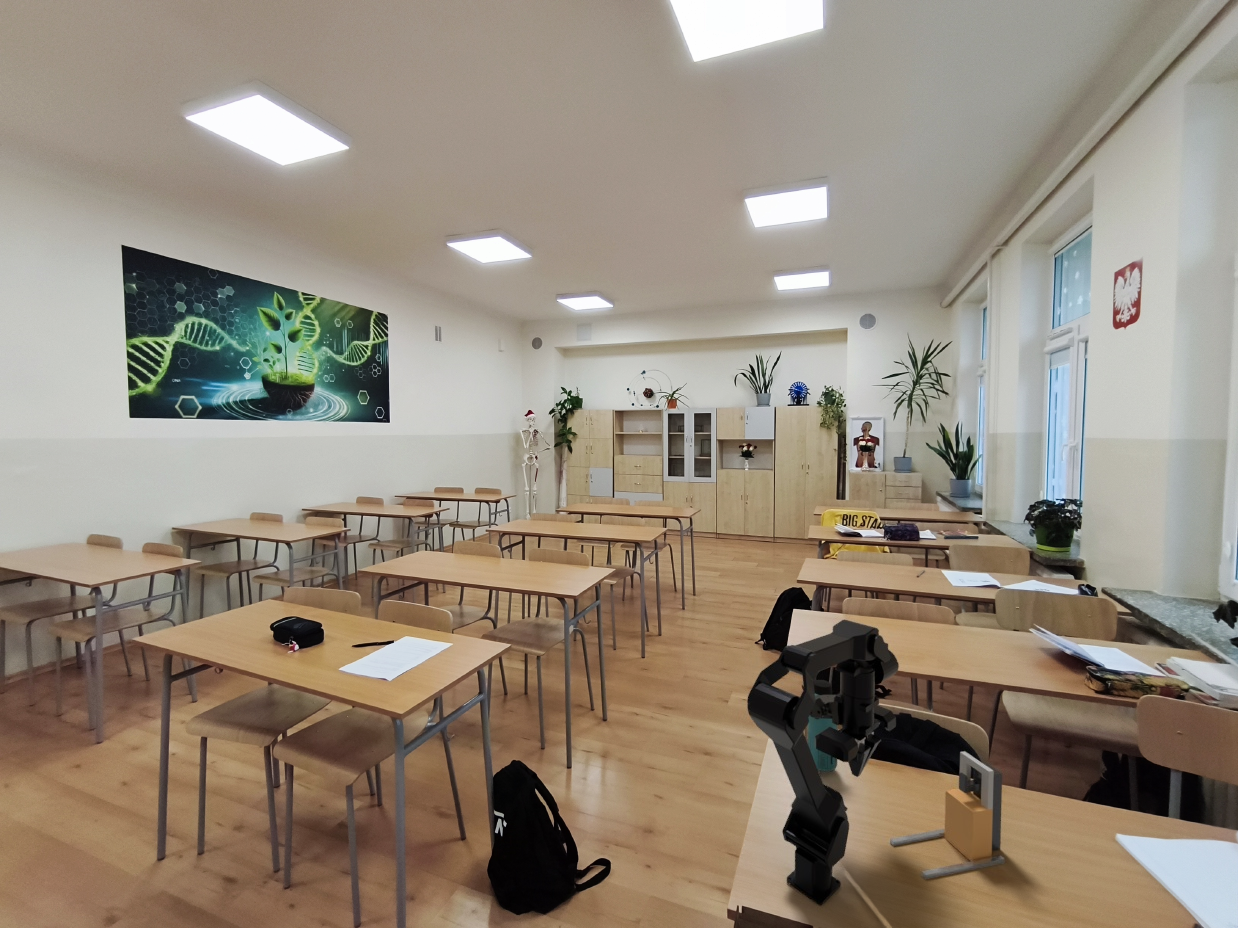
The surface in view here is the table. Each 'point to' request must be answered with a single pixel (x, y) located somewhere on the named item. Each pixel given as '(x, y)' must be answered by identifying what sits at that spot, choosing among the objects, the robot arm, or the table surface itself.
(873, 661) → the robot arm
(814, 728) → the beverage bottle
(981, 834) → the orange padlock
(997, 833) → the grey stand with block
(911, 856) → the table surface
